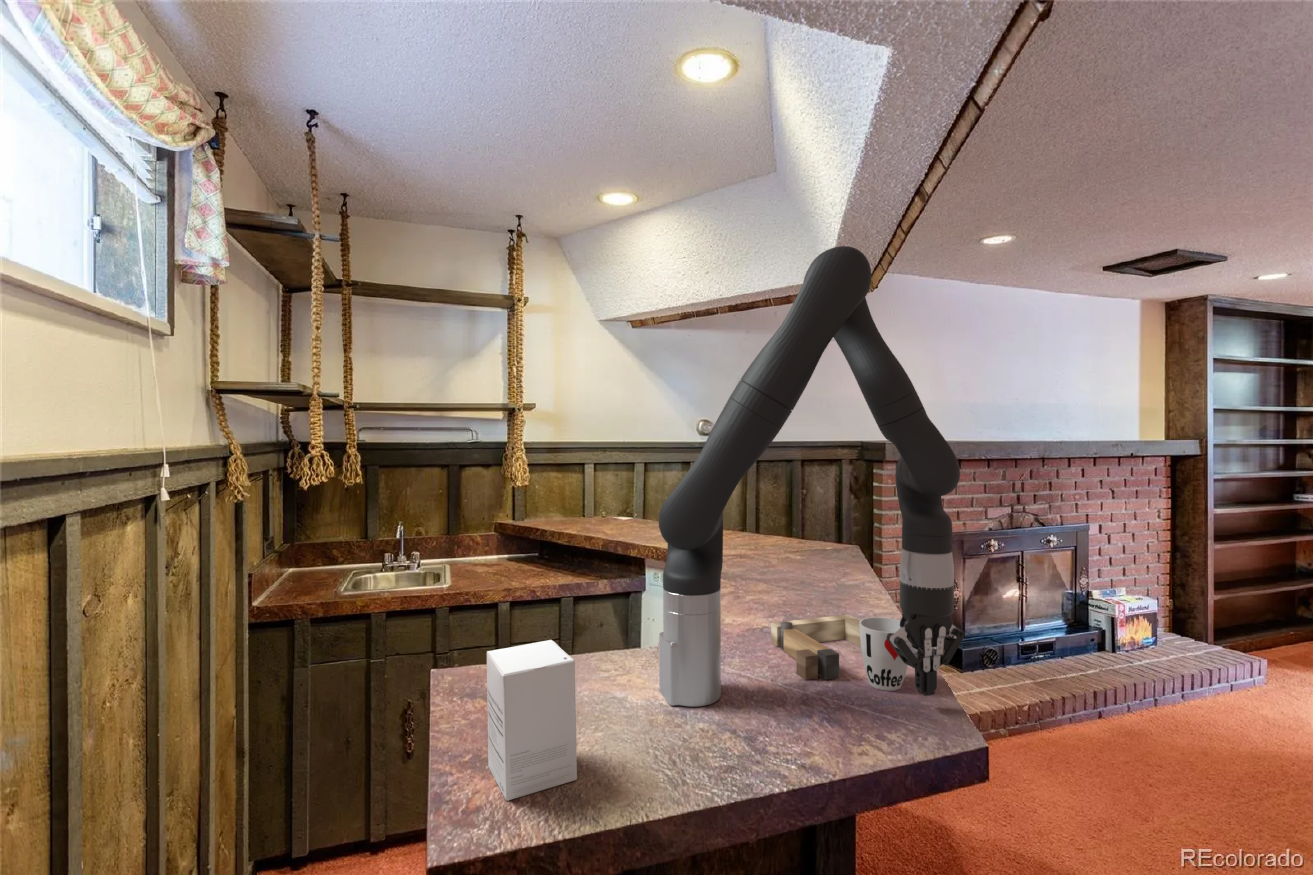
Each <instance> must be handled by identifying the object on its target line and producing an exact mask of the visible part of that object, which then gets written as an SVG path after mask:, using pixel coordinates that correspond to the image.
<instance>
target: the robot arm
mask: <svg viewBox="0 0 1313 875" xmlns="http://www.w3.org/2000/svg"><path fill="white" fill-rule="evenodd" d="M870 264H871V263H870V262H869V260H868V258H867V256H866V254H864V253H863V252H862V251H860V250H859V249H858V248H855V247H852V246H847V245H846V246H845V245H842V246H841V245H840V246H835V247H830V248H828V249H826V250H824V251H823V252H821V253H819V254H818V255H817V256H816V257H815V258H814V259H813V260H812V262H811V263H810V264H809V267H808V268H807V270H806V272H805V275H804V278H803V283H802V285H801V287H800V288H799V291H798V293H797V295H796V297H795V299H794V301H793V303H792V305H791V307H790V309H789V311H788V313H787V314H786V316H785V318H784V319H783V321H782V323H781V325H780V326H779V327H778V329H777V330H776V331H775V332H774V334H773V335H772V336H771V337H770V339H769V340H768V341H767V343H766V344H765V345H764V346H763V347H762V349H761V350H760V351H759V352H758V354H757V355H756V356H755V358H754V359H753V361H752V362H751V363H750V365H749V366H748V368H746V371H745V372H744V373H743V375H742V376H741V378H740V380H739V381H738V383H737V385H736V386H735V388H734V389H733V391H732V392H731V394H730V396H729V398H728V399H727V401H726V403H725V405H724V407H723V409H722V410H721V411H720V414H719V415H718V417H717V419H716V421H715V423H714V425H713V427H712V428H711V431H710V432H709V435H708V436H707V438H706V441H705V443H704V445H703V447H702V449H701V451H700V453H699V455H698V457H696V459H695V461H694V462H693V464H692V465H691V467H690V468H689V469H688V471H687V472H686V474H685V475H684V476H683V477H682V478H681V480H680V481H679V483H678V484H677V486H675V488H674V489H673V490H672V491H671V493H670V494H669V495H668V496H667V498H666V499H665V500H664V501H663V503H662V504H661V507H660V509H659V513H658V528H659V532H660V534H661V537H662V538H663V540H664V541H665V542H666V543H667V552H666V553H667V555H666V560H665V565H664V568H663V573H662V617H663V618H662V626H663V627H662V630H663V631H661V632H659V637H658V640H659V641H658V642H659V645H658V648H659V650H658V651H659V653H658V654H659V657H658V658H659V659H658V660H659V662H658V663H659V666H658V667H659V668H658V669H659V673H658V676H659V691H660V693H661V694H662V695H663V697H664V698H665V700H666V701H667V703H669V705H670V706H684V707H703V706H708V705H712V704H714V703H717V701H718V700H720V698H721V696H722V653H721V652H722V650H721V648H722V645H721V644H722V643H721V642H722V641H721V640H722V638H721V637H722V636H721V634H722V633H721V630H722V629H721V628H722V627H721V622H722V621H721V620H722V617H721V616H722V614H721V612H722V610H721V608H722V607H721V605H722V604H721V601H722V600H721V594H722V593H721V591H722V590H721V588H722V587H721V585H722V584H721V583H722V582H721V581H722V572H723V571H722V570H723V562H724V561H723V560H724V558H723V556H724V514H723V512H724V510H725V508H726V506H727V504H728V502H729V500H730V498H731V497H732V495H733V493H734V491H735V489H736V488H737V486H738V485H739V483H740V481H741V480H742V479H743V478H744V476H745V475H746V474H747V472H749V470H750V469H751V468H752V467H753V465H755V463H756V462H757V461H758V460H759V459H760V457H761V456H762V455H763V454H764V453H765V452H766V450H767V449H768V447H769V446H770V445H771V444H772V443H773V441H774V440H775V438H776V437H777V436H778V434H779V433H780V431H781V430H782V428H783V427H784V425H785V423H786V422H787V421H788V419H789V418H790V416H791V414H792V412H793V411H794V409H795V407H796V405H797V404H798V402H799V399H800V398H801V396H802V395H803V393H804V391H805V389H806V388H807V385H808V384H809V382H810V380H811V378H812V376H813V374H814V372H815V371H816V367H817V366H818V363H819V362H820V360H821V358H822V355H823V353H824V352H825V350H826V349H827V348H828V346H829V344H830V342H831V341H832V340H833V339H834V340H835V342H836V344H837V345H838V347H839V348H840V351H841V352H842V354H843V356H844V358H845V360H846V362H847V365H849V368H850V369H851V370H850V371H851V373H852V374H853V376H854V378H855V380H856V383H857V385H858V387H859V390H860V392H861V394H862V396H863V398H864V400H865V402H866V404H867V406H868V409H869V410H870V413H871V415H872V417H873V419H874V421H875V423H876V424H877V427H878V429H879V431H880V433H881V434H882V436H883V437H884V438H885V439H886V440H887V441H889V442H890V443H891V444H893V446H894V447H895V448H896V449H897V452H898V453H899V455H900V456H899V458H898V460H897V464H896V467H895V475H894V476H895V485H896V486H895V488H896V494H897V499H898V506H899V509H900V514H901V520H902V522H901V552H900V553H901V554H900V561H899V607H900V610H901V612H902V615H901V618H900V619H899V620H900V628H899V629H898V631H897V632H896V633H895V634H892V633H889V634H888V635H887V640H888V641H889V643H890V644H891V646H892V647H893V648H894V650H895V651H896V653H897V654H898V655H899V657H900V658H901V659H902V661H903V662H904V663H905V664H907V666H909V667H911V668H913V669H914V688H915V689H916V690H917V692H918V693H919V694H921V695H923V696H924V697H928V696H933V695H935V694H936V691H937V687H938V685H937V683H938V681H937V680H938V671H939V670H940V667H941V666H943V665H944V666H948V665H950V664H949V663H950V662H951V660H952V659H953V657H954V655H955V654H956V652H957V650H958V649H959V646H960V645H961V643H962V642H963V640H964V639H965V637H966V632H965V631H964V630H962V629H960V628H958V627H956V625H954V624H953V619H952V616H951V615H952V614H953V613H954V610H955V565H954V564H955V563H954V559H953V558H954V557H953V523H952V522H953V521H952V519H951V517H950V515H949V514H948V513H947V512H946V511H945V510H944V506H943V501H942V497H943V496H946V495H949V494H950V493H952V492H953V491H955V489H956V488H957V487H958V484H959V482H960V478H961V469H960V464H959V461H958V458H957V456H956V455H955V453H954V450H953V448H952V447H951V446H950V444H949V443H948V442H947V439H945V437H944V436H943V434H942V433H941V432H940V430H939V429H938V428H937V427H936V425H935V424H934V422H933V421H932V420H931V419H930V418H929V416H928V414H927V411H926V408H925V406H924V404H923V403H922V400H921V399H920V396H919V395H918V391H917V390H916V388H915V386H914V384H913V382H912V380H911V378H910V377H909V375H908V374H907V372H906V370H905V368H904V367H903V366H902V364H901V363H900V361H899V360H898V359H897V357H896V355H895V354H894V353H893V352H892V350H891V349H890V347H889V346H888V344H887V343H886V341H885V339H884V338H883V337H882V335H881V333H880V331H879V329H878V327H877V325H876V323H875V321H874V319H873V317H872V314H871V310H870V308H869V305H868V301H867V299H866V297H867V295H868V293H869V291H870V287H871V285H872V279H873V277H872V268H871V265H870ZM907 639H908V640H909V642H908V640H907ZM908 644H909V646H910V648H909V647H908Z"/></svg>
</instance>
